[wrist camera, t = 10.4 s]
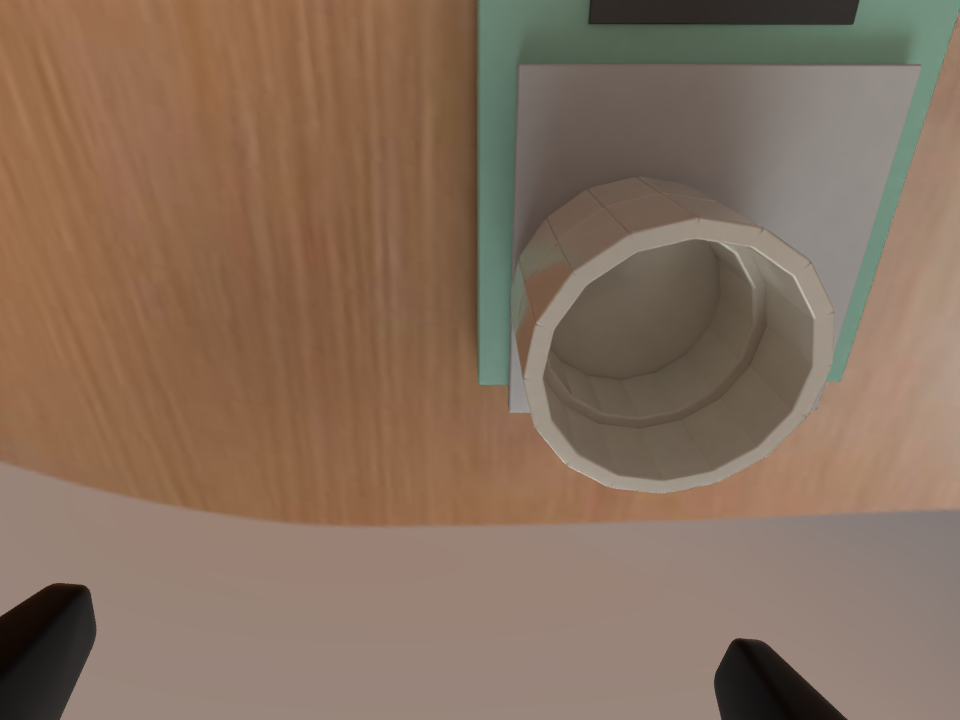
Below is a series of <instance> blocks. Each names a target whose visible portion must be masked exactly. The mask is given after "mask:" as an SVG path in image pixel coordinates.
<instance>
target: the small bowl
mask: <svg viewBox="0 0 960 720" xmlns="http://www.w3.org/2000/svg"><path fill="white" fill-rule="evenodd" d="M510 310H511V316H512V321H513V327H514V333H515V338H516V344H517V350H518V355H519V361H520V367H521V372H522V378H523V383H524V387H525V391H526V395H527V400H528V404H529V408H530V413H531V417H532V421H533V425H534V426H535V429H536V430H537V432H538V433H539V434H540V435H541V436H542V438H543V439H544V440H545V441H546V443H547V444H548V445H549V446H550V447H551V449H552V450H553V451H554V452H555V454H556V455H557V456H558V457H559V458H560V460H561V461H562V462H563V463H564V464H566V466H568V467H570V468H572V469H574V470H576V471H577V472H579V473H581V474H583V475H585V476H587V477H589V478H591V479H593V480H595V481H597V482H599V483H601V484H603V485H605V486H607V487H610V488H615V489H624V490H632V491H641V492H649V493H658V494H661V493H663V494H664V493H670V492H675V491H680V490H685V489H690V488H695V487H700V486H705V485H711V484H715V483H716V482H720V481H722V480H724V479H726V478H727V477H729V476H731V475H733V474H735V473H737V472H739V471H741V470H743V469H745V468H747V467H748V466H750V465H752V464H754V463H756V462H758V461H760V460H762V459H764V458H765V457H766V456H768V455H769V454H770V453H771V452H772V451H773V450H774V449H775V448H776V447H777V446H778V445H779V444H780V443H781V442H782V441H783V440H784V439H786V438H787V437H788V436H789V435H790V434H791V433H792V432H793V431H794V430H795V429H796V428H797V427H798V426H799V425H800V424H801V423H802V422H803V421H804V420H805V419H806V417H807V415H809V413H810V411H811V409H812V407H813V405H814V403H815V401H816V399H817V397H818V395H819V392H820V390H821V388H822V386H823V384H824V382H825V380H826V378H827V376H828V374H829V372H830V370H831V368H832V366H831V365H832V364H833V344H834V321H835V312H834V308H833V306H832V303H831V301H830V299H829V297H828V295H827V293H826V291H825V289H824V287H823V284H822V282H821V280H820V278H819V276H818V274H817V272H816V270H815V268H814V266H813V263H812V262H811V261H810V260H809V259H808V258H807V257H806V256H804V255H803V254H801V253H800V252H799V251H797V250H796V249H794V248H793V247H791V246H790V245H789V244H787V243H786V242H784V241H783V240H782V239H780V238H779V237H777V236H776V235H775V234H773V233H772V232H770V231H769V230H768V229H766V228H765V227H763V226H761V225H759V224H757V223H756V222H754V221H752V220H750V219H748V218H747V217H745V216H743V215H741V214H739V213H738V212H736V211H734V210H732V209H730V208H728V207H727V206H725V205H723V204H721V203H719V202H717V201H716V200H714V199H712V198H710V197H708V196H707V195H705V194H703V193H701V192H699V191H697V190H696V189H694V188H692V187H690V186H687V185H685V184H682V183H676V182H670V181H664V180H658V179H652V178H646V177H638V178H637V177H633V178H628V179H624V180H620V181H616V182H612V183H608V184H604V185H600V186H595V187H591V188H590V189H589V191H588V190H585V191H583V192H582V193H580V194H579V195H578V196H576V197H575V198H573V199H572V200H570V201H569V202H568V203H566V204H565V205H563V206H562V207H561V208H559V209H558V210H556V211H555V212H553V213H552V214H551V215H549V216H548V217H547V219H545V220H544V221H543V222H542V224H541V225H540V227H539V228H538V230H537V231H536V233H535V234H534V236H533V237H532V239H531V240H530V242H529V243H528V245H527V246H526V248H525V249H524V251H523V252H522V254H521V255H520V257H519V261H518V262H517V267H516V272H515V277H514V282H513V287H512V292H511V297H510Z"/></svg>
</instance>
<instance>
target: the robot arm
mask: <svg viewBox="0 0 960 720" xmlns="http://www.w3.org/2000/svg"><path fill="white" fill-rule="evenodd" d="M95 637H96V621H95V616H94V610H93V605H92V599H91V594H90V590H89V589H88V588H87V587H86V586H84V585H78V584H77V585H76V584H65V583H56V584H52V585H49V586H47V587H45V588H44V589H42V590H41V591H39V592H37V593H36V594H34V595H33V596H31V597H30V598H28V599H27V600H25V601H24V602H22V603H21V604H19V605H17V606H16V607H14V608H13V609H11V610H10V611H8V612H7V613H5V614H4V615H2V616H1V617H0V720H60V718H61V716H62V713H63V711H64V709H65V707H66V704H67V702H68V700H69V698H70V696H71V693H72V691H73V689H74V687H75V685H76V682H77V680H78V678H79V676H80V673H81V671H82V669H83V667H84V665H85V662H86V660H87V658H88V656H89V654H90V651H91V649H92V647H93V644H94V641H95ZM714 688H715V694H716V698H717V702H718V707H719V711H720V715H721V719H722V720H847V719H846V718H845V717H844V716H843V715H842V714H841V713H840V712H839V711H838V710H837V709H835V708H834V706H832V705H831V704H830V703H829V702H828V701H827V700H826V699H825V698H824V697H823V696H822V695H821V694H820V693H819V692H817V691H816V690H815V689H814V688H813V687H812V686H811V685H810V684H809V683H808V682H807V681H806V680H805V679H804V678H802V676H801V675H799V674H798V673H797V672H796V671H795V670H794V669H793V668H792V667H791V666H790V665H789V664H788V663H787V662H786V661H784V659H782V658H781V657H780V656H779V655H778V654H777V653H776V652H775V651H774V650H773V649H772V648H771V647H770V646H768V645H767V644H766V643H764V642H762V641H760V640H753V639H742V638H738V639H735V640H733V641H732V642H731V644H730V645H729V647H728V649H727V651H726V653H725V655H724V657H723V659H722V661H721V663H720V665H719V667H718V669H717V671H716V674H715V679H714Z"/></svg>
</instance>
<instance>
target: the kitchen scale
mask: <svg viewBox="0 0 960 720" xmlns="http://www.w3.org/2000/svg"><path fill="white" fill-rule="evenodd" d="M959 10H960V0H477V368H478V383H479V384H480V385H508V407H509V412H511V413H520V412H530V408H529V404H528V400H527V395H526V391H525V387H524V383H523V378H522V372H521V367H520V361H519V355H518V350H517V344H516V338H515V333H514V327H513V321H512V316H511V310H510V297H511V292H512V287H513V282H514V277H515V272H516V267H517V262H518V261H519V257H520V255H521V254H522V252H523V251H524V249H525V248H526V246H527V245H528V243H529V242H530V240H531V239H532V237H533V236H534V234H535V233H536V231H537V230H538V228H539V227H540V225H541V224H542V222H543V221H544V220H545V219H547V217H548V216H549V215H551V214H552V213H553V212H555V211H556V210H558V209H559V208H561V207H562V206H563V205H565V204H566V203H568V202H569V201H570V200H572V199H573V198H575V197H576V196H578V195H579V194H580V193H582V192H583V191H585V190H588V191H589V189H590V188H591V187H595V186H600V185H604V184H608V183H612V182H616V181H620V180H624V179H628V178H633V177H637V178H638V177H646V178H652V179H658V180H664V181H670V182H676V183H682V184H685V185H687V186H690V187H692V188H694V189H696V190H697V191H699V192H701V193H703V194H705V195H707V196H708V197H710V198H712V199H714V200H716V201H717V202H719V203H721V204H723V205H725V206H727V207H728V208H730V209H732V210H734V211H736V212H738V213H739V214H741V215H743V216H745V217H747V218H748V219H750V220H752V221H754V222H756V223H757V224H759V225H761V226H763V227H765V228H766V229H768V230H769V231H770V232H772V233H773V234H775V235H776V236H777V237H779V238H780V239H782V240H783V241H784V242H786V243H787V244H789V245H790V246H791V247H793V248H794V249H796V250H797V251H799V252H800V253H801V254H803V255H804V256H806V257H807V258H808V259H809V260H810V261H811V262H812V263H813V266H814V268H815V270H816V272H817V274H818V276H819V278H820V280H821V282H822V284H823V287H824V289H825V291H826V293H827V295H828V297H829V299H830V301H831V303H832V306H833V308H834V312H835V321H834V344H833V364H832V365H831V366H832V368H831V370H830V372H829V374H828V376H827V378H826V380H825V382H839V381H841V379H842V376H843V373H844V370H845V366H846V363H847V360H848V357H849V354H850V351H851V348H852V345H853V341H854V338H855V335H856V332H857V329H858V326H859V323H860V320H861V316H862V313H863V310H864V307H865V304H866V301H867V298H868V295H869V291H870V288H871V285H872V282H873V279H874V276H875V273H876V269H877V266H878V263H879V260H880V257H881V254H882V251H883V248H884V244H885V241H886V238H887V235H888V232H889V229H890V226H891V223H892V219H893V216H894V213H895V210H896V207H897V204H898V201H899V198H900V194H901V191H902V188H903V185H904V182H905V179H906V176H907V173H908V169H909V166H910V163H911V160H912V157H913V154H914V151H915V148H916V144H917V141H918V138H919V135H920V132H921V129H922V126H923V123H924V119H925V116H926V113H927V110H928V107H929V104H930V101H931V97H932V94H933V91H934V88H935V85H936V82H937V79H938V76H939V72H940V69H941V66H942V63H943V60H944V57H945V54H946V51H947V47H948V44H949V41H950V38H951V35H952V32H953V29H954V26H955V22H956V19H957V16H958V13H959ZM825 382H824V384H823V386H822V388H821V390H820V392H819V395H818V397H817V399H816V401H815V403H814V405H813V407H812V409H811V410H816V409H817V408H818V404H819V401H820V398H821V394H822V391H823V388H824V385H825Z"/></svg>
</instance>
